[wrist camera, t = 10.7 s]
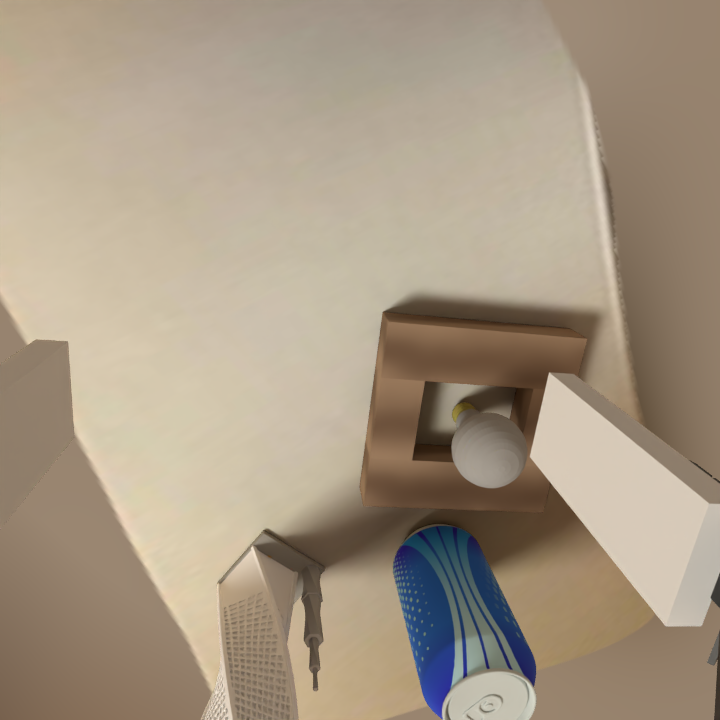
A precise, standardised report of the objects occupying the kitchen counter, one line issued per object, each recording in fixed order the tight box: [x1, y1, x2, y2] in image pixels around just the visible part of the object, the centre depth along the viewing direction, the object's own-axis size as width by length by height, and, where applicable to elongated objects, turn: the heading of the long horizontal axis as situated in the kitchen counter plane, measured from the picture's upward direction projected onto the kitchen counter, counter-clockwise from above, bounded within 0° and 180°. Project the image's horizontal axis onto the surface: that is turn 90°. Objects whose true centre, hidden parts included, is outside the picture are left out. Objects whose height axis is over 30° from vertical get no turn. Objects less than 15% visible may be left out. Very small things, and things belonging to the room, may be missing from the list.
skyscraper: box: [201, 530, 325, 720], centre depth 38 cm, size 8×8×28 cm
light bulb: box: [451, 402, 528, 488], centre depth 43 cm, size 5×6×10 cm
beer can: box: [393, 524, 536, 720], centre depth 45 cm, size 8×8×16 cm
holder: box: [360, 312, 587, 513], centre depth 47 cm, size 16×16×3 cm
